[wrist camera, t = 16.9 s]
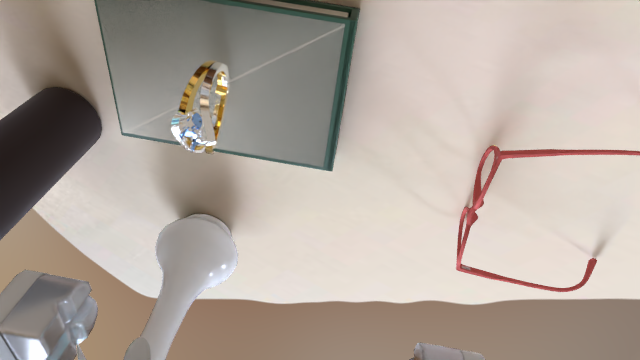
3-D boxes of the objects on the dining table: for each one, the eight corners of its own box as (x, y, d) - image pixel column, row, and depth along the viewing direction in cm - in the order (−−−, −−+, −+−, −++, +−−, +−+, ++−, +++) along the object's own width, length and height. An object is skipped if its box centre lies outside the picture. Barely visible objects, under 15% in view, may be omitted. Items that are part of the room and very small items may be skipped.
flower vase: (111, 199, 51) (-64, 423, 32) (259, 186, 47) (162, 437, 27) (158, 272, 59) (41, 490, 39) (289, 267, 54) (231, 508, 35)
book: (360, 8, 34) (357, 20, 32) (335, 153, 43) (332, 171, 40) (109, -33, 35) (89, -23, 32) (136, 119, 43) (121, 135, 41)
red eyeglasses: (487, 110, 38) (498, 142, 34) (680, 132, 37) (714, 167, 33) (441, 247, 49) (445, 283, 45) (589, 267, 48) (607, 305, 44)
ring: (209, 41, 34) (168, 86, 28) (249, 52, 34) (217, 100, 28) (202, 115, 38) (165, 169, 32) (238, 125, 39) (208, 181, 32)
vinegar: (116, 137, 45) (-30, 296, 30) (65, 149, 47) (-97, 304, 32) (76, 78, 41) (-116, 224, 26) (22, 93, 43) (-186, 238, 28)
